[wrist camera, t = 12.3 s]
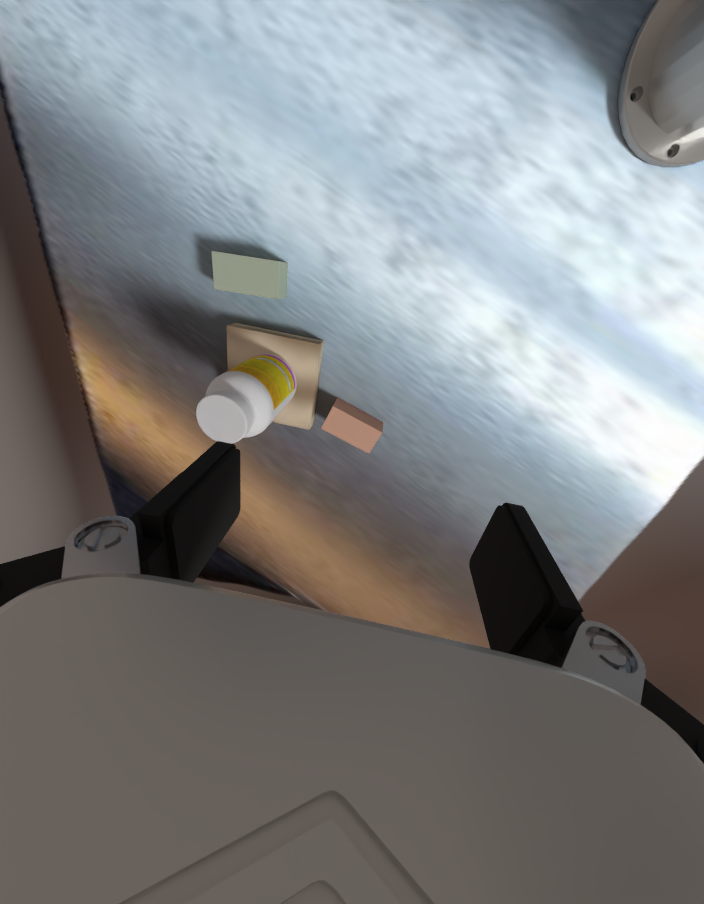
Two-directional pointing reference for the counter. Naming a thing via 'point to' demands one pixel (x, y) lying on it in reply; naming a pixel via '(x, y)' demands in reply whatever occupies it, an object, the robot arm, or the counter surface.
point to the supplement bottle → (246, 398)
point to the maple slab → (295, 352)
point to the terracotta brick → (353, 425)
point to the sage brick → (249, 275)
